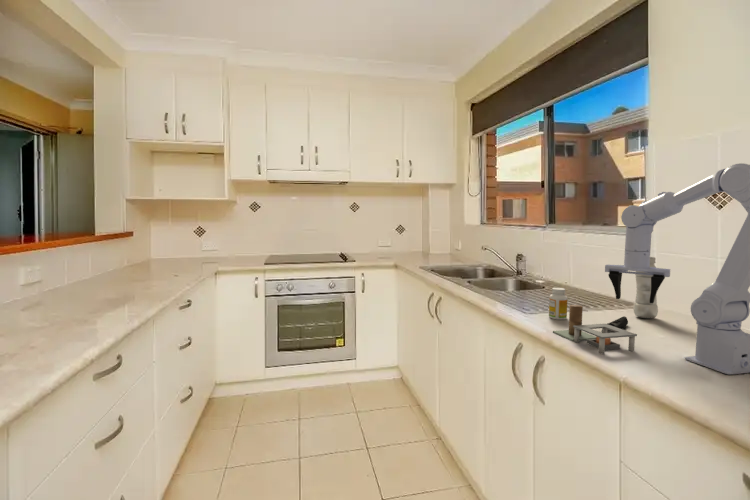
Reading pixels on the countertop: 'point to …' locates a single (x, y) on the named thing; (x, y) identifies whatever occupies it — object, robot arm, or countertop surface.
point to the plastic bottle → (645, 295)
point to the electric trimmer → (618, 324)
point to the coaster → (566, 334)
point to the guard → (604, 336)
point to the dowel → (575, 318)
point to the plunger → (607, 340)
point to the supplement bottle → (558, 304)
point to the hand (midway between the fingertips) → (634, 300)
